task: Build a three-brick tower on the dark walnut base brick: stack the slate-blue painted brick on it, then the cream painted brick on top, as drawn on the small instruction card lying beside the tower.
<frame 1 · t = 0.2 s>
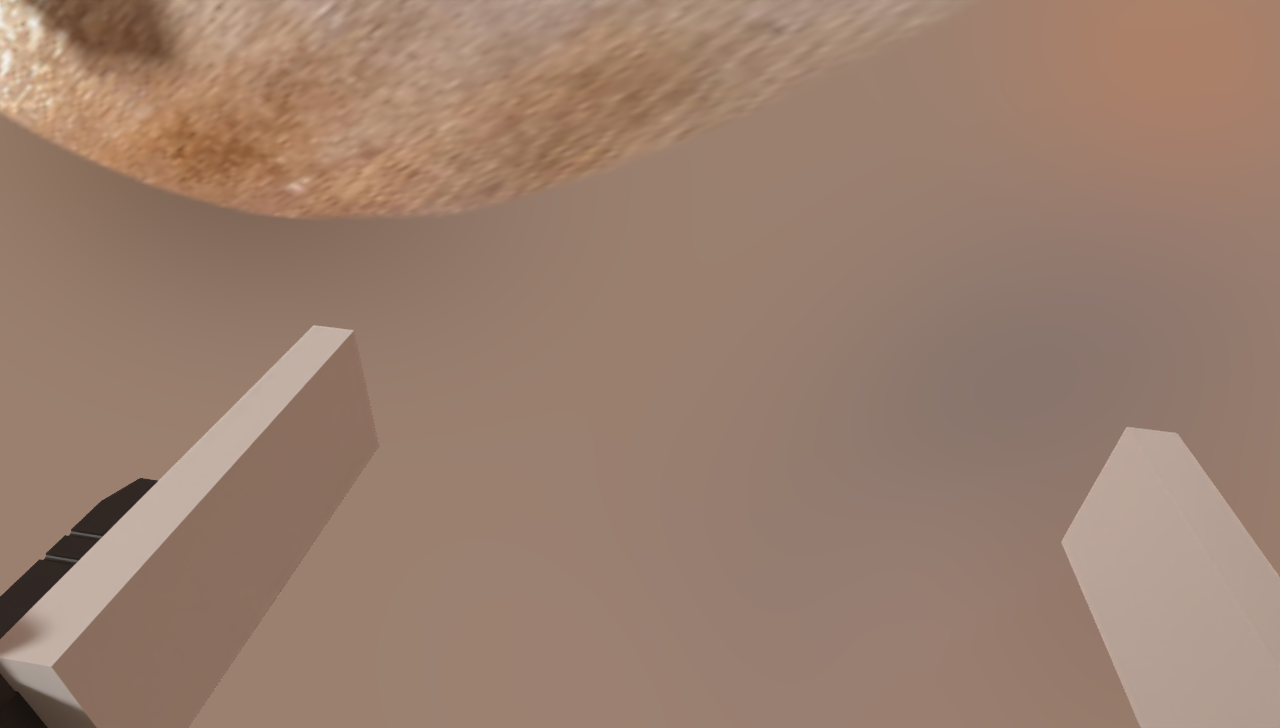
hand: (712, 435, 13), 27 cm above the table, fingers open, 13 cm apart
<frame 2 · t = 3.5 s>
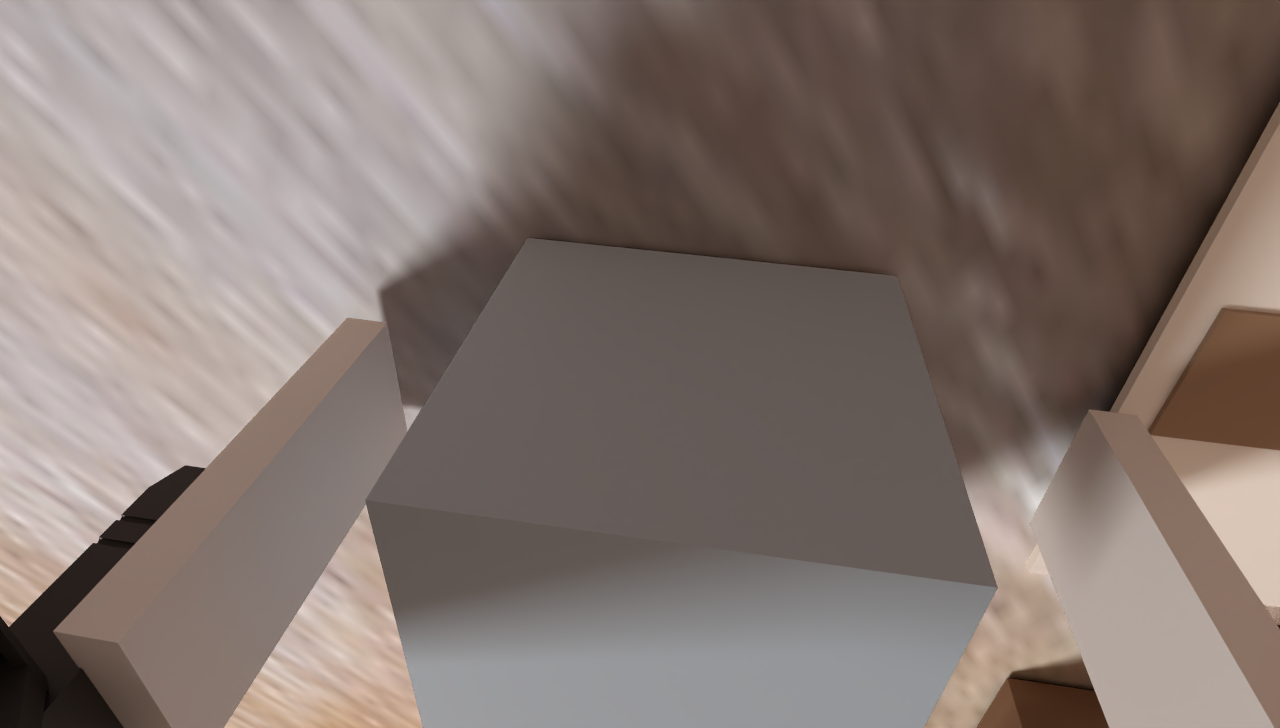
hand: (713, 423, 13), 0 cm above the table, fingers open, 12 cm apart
slate brick: (692, 401, 13), on the table
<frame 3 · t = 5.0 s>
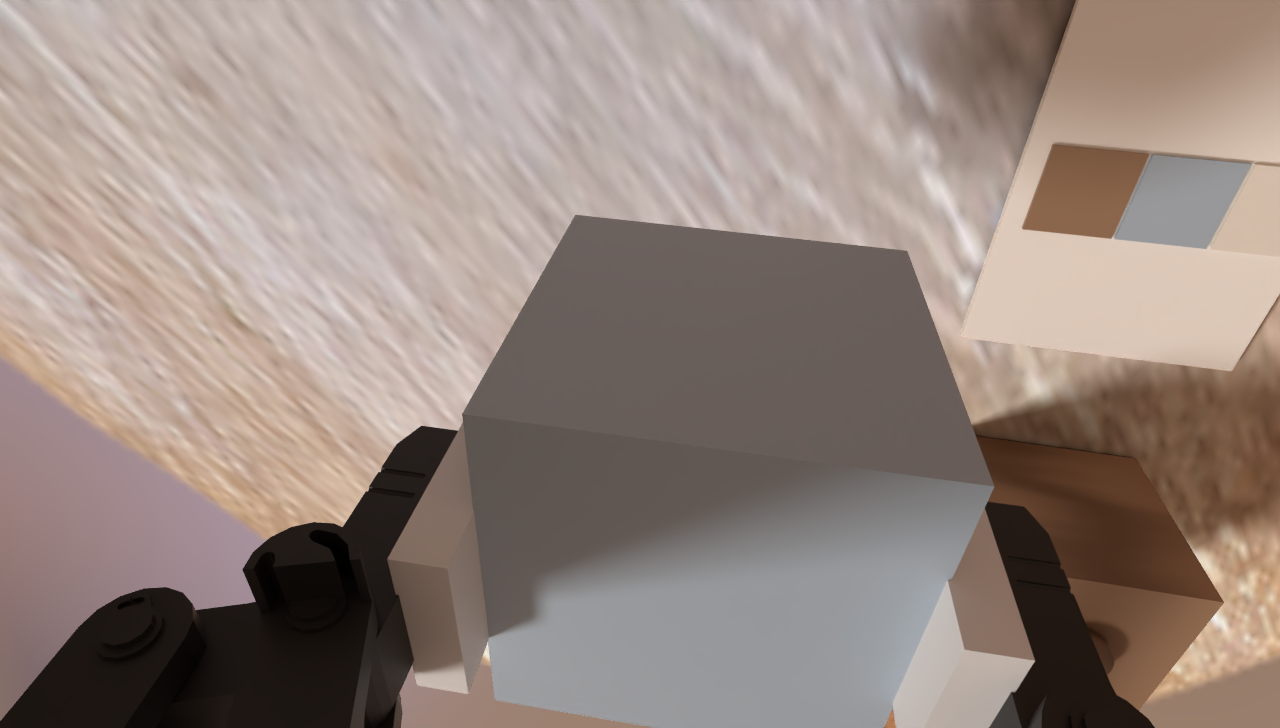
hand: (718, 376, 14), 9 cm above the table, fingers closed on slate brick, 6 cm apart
slate brick: (718, 368, 15), point 9 cm above the table, touching gripper
instruction card: (1163, 198, 20), on the table
walnut base brick: (1014, 507, 27), on the table
when the fingers open (6 cm above the table, at t = 8.2 s): slate brick stays where it is, resting on walnut base brick.
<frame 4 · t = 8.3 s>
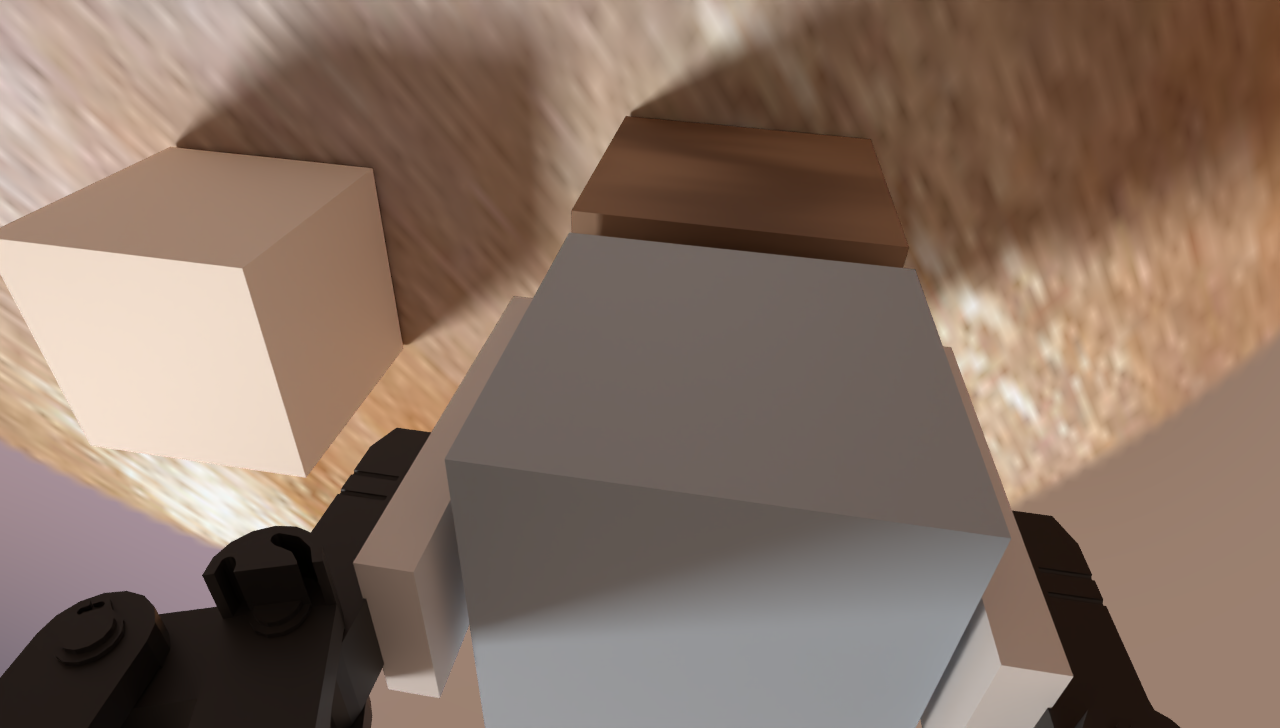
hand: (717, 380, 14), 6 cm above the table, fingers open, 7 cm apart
cream brick: (294, 254, 22), on the table
slate brick: (719, 388, 14), point 6 cm above the table, touching walnut base brick
walnut base brick: (731, 239, 19), on the table, touching slate brick
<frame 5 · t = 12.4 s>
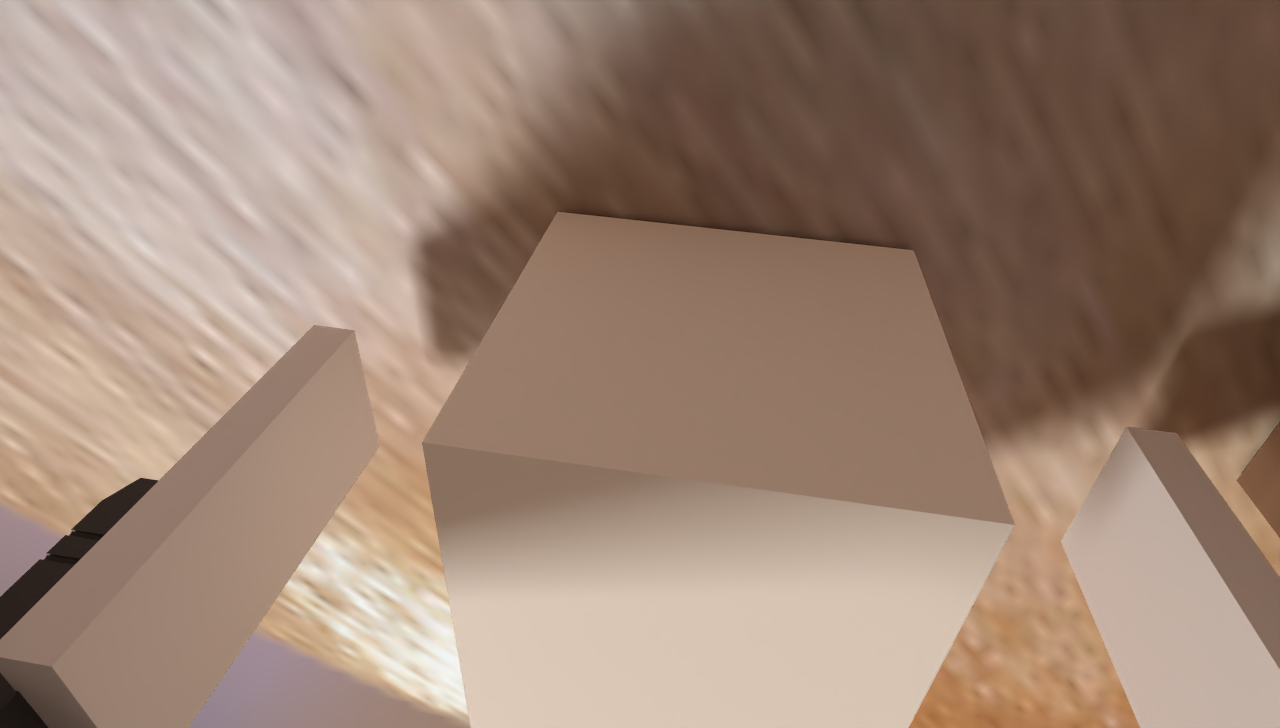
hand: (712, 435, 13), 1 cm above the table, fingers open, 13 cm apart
cream brick: (712, 373, 14), on the table
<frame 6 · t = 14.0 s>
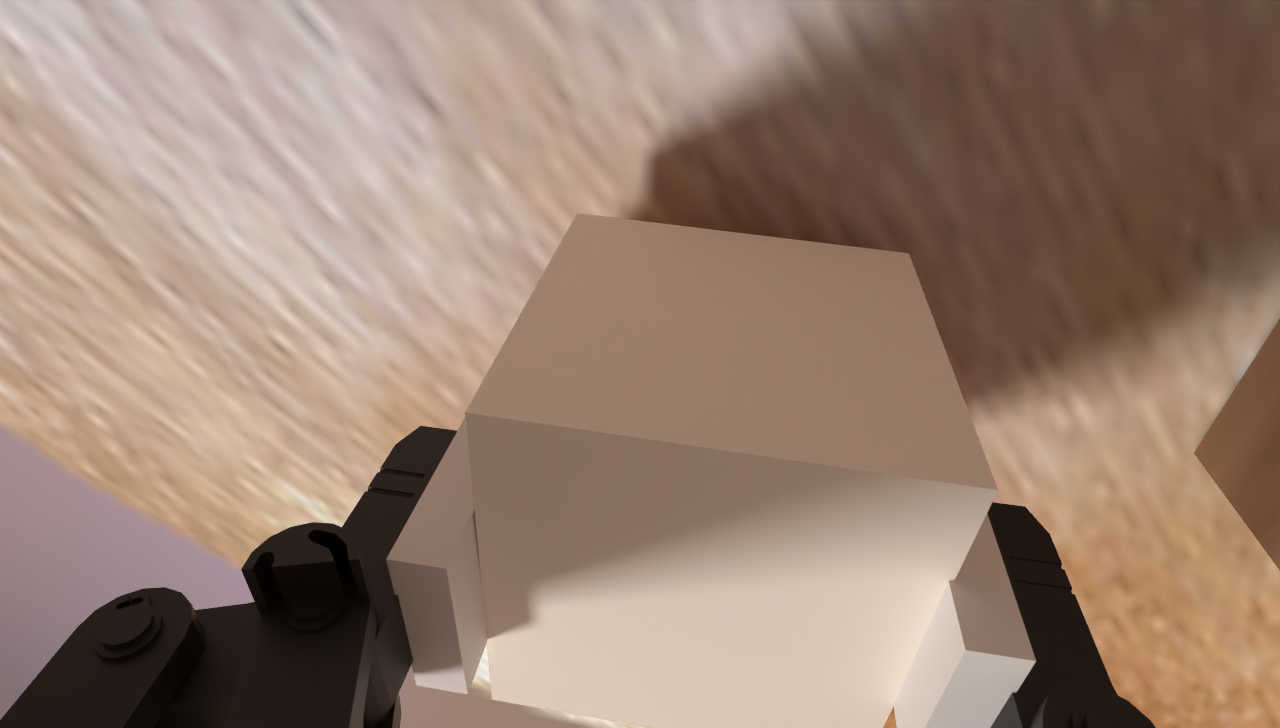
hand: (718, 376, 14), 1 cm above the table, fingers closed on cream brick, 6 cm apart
cream brick: (718, 368, 15), point 1 cm above the table, touching gripper
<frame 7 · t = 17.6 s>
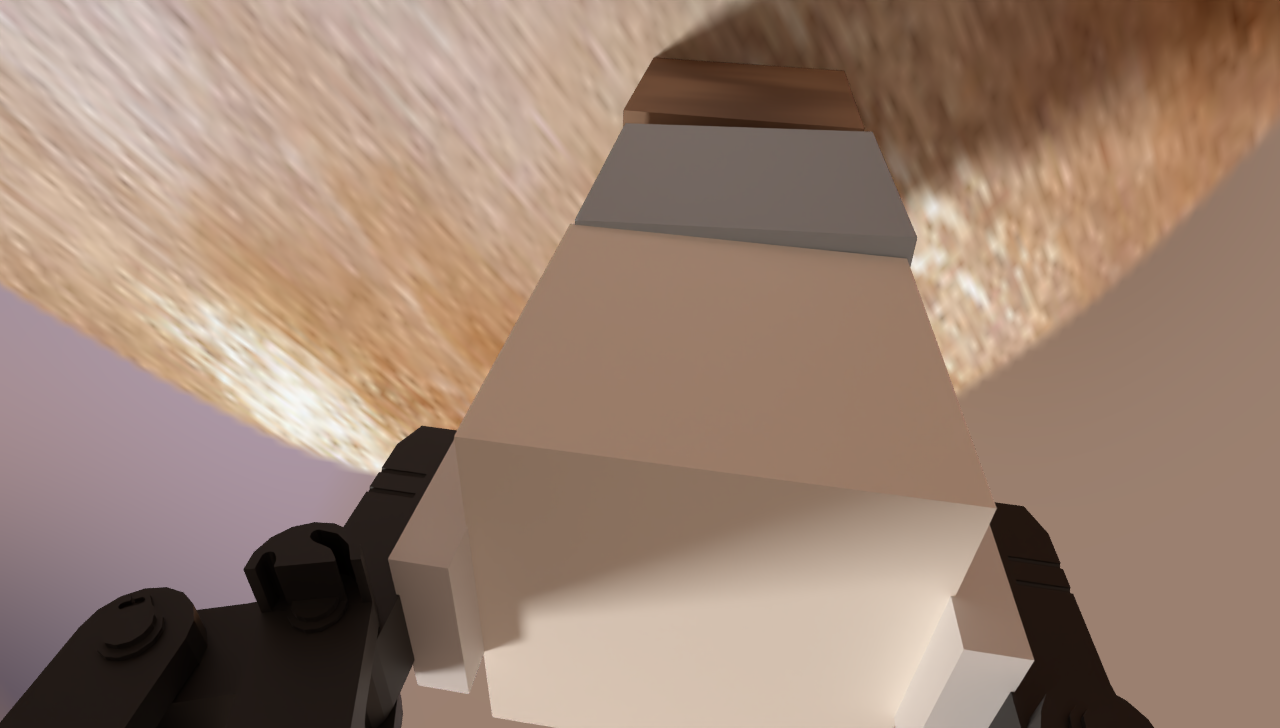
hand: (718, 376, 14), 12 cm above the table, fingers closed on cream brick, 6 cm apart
cream brick: (717, 376, 15), point 12 cm above the table, touching gripper, slate brick
slate brick: (737, 240, 19), point 6 cm above the table, touching cream brick, gripper, walnut base brick
walnut base brick: (737, 156, 24), on the table, touching slate brick
when the fingers open (12 cm above the table, at t = 17.8 s): cream brick stays where it is, resting on slate brick.
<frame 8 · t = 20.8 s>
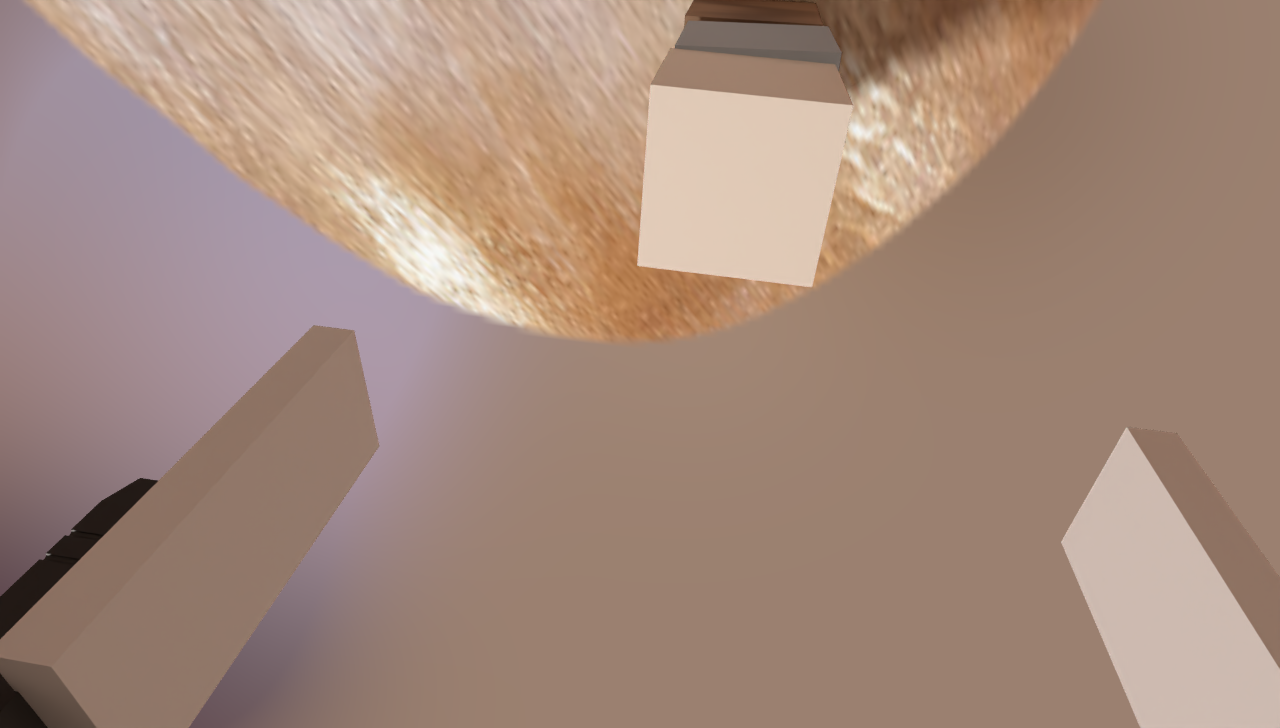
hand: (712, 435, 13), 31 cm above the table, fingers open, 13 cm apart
cream brick: (740, 138, 28), point 12 cm above the table, touching slate brick
slate brick: (750, 95, 33), point 6 cm above the table, touching cream brick, walnut base brick
walnut base brick: (748, 62, 38), on the table, touching slate brick
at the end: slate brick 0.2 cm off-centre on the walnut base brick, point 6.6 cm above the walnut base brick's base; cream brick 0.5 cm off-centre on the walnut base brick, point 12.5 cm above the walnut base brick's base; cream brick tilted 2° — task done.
